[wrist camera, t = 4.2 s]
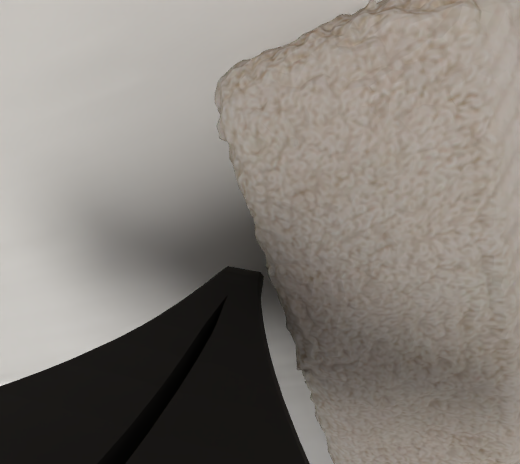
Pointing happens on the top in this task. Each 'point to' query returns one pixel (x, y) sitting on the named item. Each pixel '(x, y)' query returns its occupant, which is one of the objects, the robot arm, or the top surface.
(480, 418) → the washcloth
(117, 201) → the top surface
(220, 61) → the top surface
